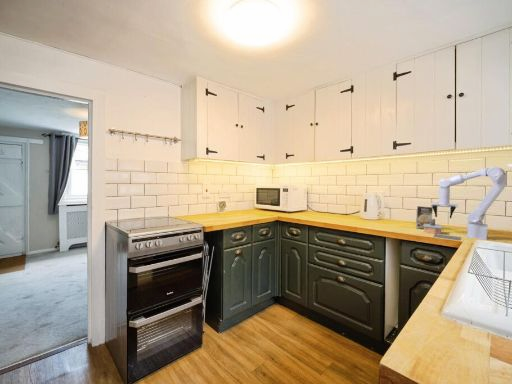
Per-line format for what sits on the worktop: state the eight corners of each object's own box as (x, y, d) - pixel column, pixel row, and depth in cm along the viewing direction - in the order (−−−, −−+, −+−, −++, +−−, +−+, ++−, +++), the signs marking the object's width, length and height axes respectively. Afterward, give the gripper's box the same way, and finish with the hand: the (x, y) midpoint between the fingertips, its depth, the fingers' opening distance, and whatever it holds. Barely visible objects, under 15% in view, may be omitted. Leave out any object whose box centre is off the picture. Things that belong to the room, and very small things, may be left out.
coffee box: (416, 228, 180) (417, 206, 180) (415, 227, 186) (416, 206, 185) (431, 230, 176) (432, 207, 175) (430, 228, 181) (431, 207, 181)
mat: (461, 237, 151) (461, 237, 151) (460, 241, 142) (460, 240, 142) (435, 234, 160) (435, 234, 160) (432, 237, 151) (432, 236, 151)
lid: (442, 226, 165) (442, 219, 165) (441, 228, 158) (442, 220, 157) (424, 224, 172) (424, 217, 172) (422, 226, 164) (423, 219, 164)
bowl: (441, 233, 165) (441, 226, 165) (440, 235, 159) (440, 228, 158) (425, 231, 171) (425, 224, 171) (423, 233, 165) (423, 226, 164)
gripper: (430, 196, 166) (429, 217, 167) (457, 198, 157) (456, 219, 157) (431, 196, 172) (430, 216, 172) (458, 197, 162) (457, 218, 163)
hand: (443, 217), depth 165 cm, fingers open, 7 cm apart
